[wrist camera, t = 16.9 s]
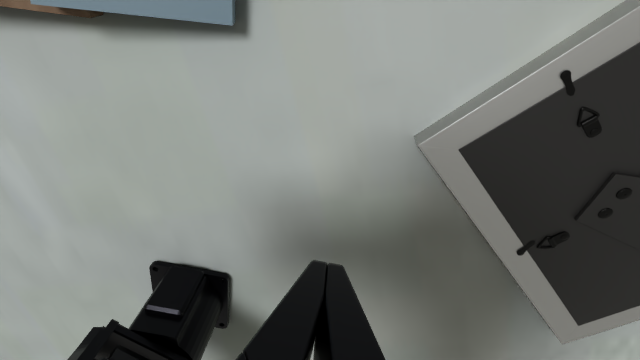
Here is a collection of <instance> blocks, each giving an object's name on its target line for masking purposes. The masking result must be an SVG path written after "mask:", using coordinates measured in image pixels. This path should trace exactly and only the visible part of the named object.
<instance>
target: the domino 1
mask: <svg viewBox="0 0 640 360" xmlns="http://www.w3.org/2000/svg"><path fill="white" fill-rule="evenodd" d="M0 6H3V7H10V8H18V9H25V10H33V11H41V12H48V13H56V14H63V15H71V16H78V17H86V18H92V17H96V16H101V15H103V12H101V11H91V10H82V9H73V8H63V7H54V6H44V5H35V4H31V2H30V0H0Z"/></svg>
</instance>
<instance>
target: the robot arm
mask: <svg viewBox="0 0 640 360" xmlns="http://www.w3.org/2000/svg"><path fill="white" fill-rule="evenodd" d="M149 269H150V275H151V282H152V289H153V293H152V294H151V296H150V297H149V299H148V300H147V302H146V303H145V305H144V307H143V308H142V309H141V311H140V312H139V314H138V315H137V317H136V318H135V320H134V321H133V323H132V324H131V326H130V327H129V329H128V328H126V327H124V326H122V325H120V324H119V322H117V321H115V320H113V319H112V320H111V321H110V322H109V324H108V325H107V326H106V327H104V326H103V327H93V328H92V330H91V331H90V332H89V334H88V335H87V336H86V337H85V339H84V340H83V341H82V343H81V344H80V345H79V346H78V348H77V349H76V350H75V351H74V352H73V354H72V355H71V356H70V357H69V358H68V360H201V358H202V355H203V353H204V351H205V348H206V346H207V344H208V341H209V339H210V337H211V334H212V332H213V329H214V327H217V328H227V326H228V323H229V280H230V279H229V276H228V275H227V274H224V273H219V272H214V271H208V270H203V269H197V268H192V267H186V266H180V265H175V264H169V263H164V262H158V261H154V262H153V263H152V264H151V265H150V268H149ZM222 279H223V280H222ZM314 341H315V343H314ZM313 346H314V360H385V358H384V355H383V353H382V351H381V349H380V347H379V344H378V342H377V340H376V338H375V336H374V333H373V331H372V329H371V327H370V324H369V322H368V320H367V318H366V316H365V313H364V311H363V309H362V307H361V304H360V302H359V300H358V298H357V296H356V293H355V291H354V289H353V287H352V285H351V282H350V280H349V278H348V276H347V273H346V271H345V269H344V267H343V266H342V265H339V264H333V263H329V264H328V265H327V263H326V262H322V261H316V260H313V261H311V262H310V264H309V265H308V266H307V268H306V269H305V270H304V272H303V273H302V274H301V276H300V277H299V278H298V279H297V281H296V282H295V283H294V285H293V286H292V287H291V289H290V290H289V291H288V293H287V294H286V295H285V296H284V298H283V299H282V300H281V302H280V303H279V304H278V306H277V307H276V308H275V310H274V311H273V312H272V313H271V315H270V316H269V317H268V319H267V320H266V321H265V323H264V324H263V325H262V327H261V328H260V329H259V330H258V332H257V333H256V334H255V336H254V337H253V338H252V340H251V341H250V342H249V344H248V345H247V346H246V347H245V349H244V350H243V353H241V354H240V355H239V356H238V358H237V359H236V360H310V358H311V354H312V350H313Z"/></svg>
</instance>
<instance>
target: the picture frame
mask: <svg viewBox="0 0 640 360" xmlns="http://www.w3.org/2000/svg"><path fill="white" fill-rule="evenodd" d="M414 137H415V140H416V143H417V146H418V147H419V148H420V150H421V151H422V152H423V154H424V155H425V157H426V158H427V159H428V161H429V162H430V163H431V165H432V166H433V168H434V169H435V170H436V172H437V173H438V174H439V176H440V177H441V179H442V180H443V181H444V183H445V184H446V185H447V187H448V188H449V190H450V191H451V192H452V194H453V195H454V196H455V198H456V199H457V201H458V202H459V203H460V205H461V206H462V207H463V209H464V210H465V212H466V213H467V214H468V216H469V217H470V218H471V220H472V221H473V223H474V224H475V225H476V227H477V228H478V229H479V231H480V232H481V234H482V235H483V236H484V238H485V239H486V240H487V242H488V243H489V244H490V246H491V247H492V249H493V250H494V251H495V253H496V254H497V255H498V257H499V258H500V260H501V261H502V262H503V264H504V265H505V266H506V268H507V269H508V271H509V272H510V273H511V275H512V276H513V277H514V279H515V280H516V282H517V283H518V284H519V286H520V287H521V288H522V290H523V291H524V293H525V294H526V295H527V297H528V298H529V299H530V301H531V302H532V304H533V305H534V306H535V308H536V309H537V310H538V312H539V313H540V315H541V316H542V317H543V319H544V320H545V321H546V323H547V324H548V326H549V327H550V328H551V330H552V331H553V332H554V334H555V335H556V337H557V338H558V339H559V341H560V342H561V343H562V344H565V343H569V342H572V341H575V340H578V339H581V338H584V337H587V336H591V335H594V334H597V333H600V332H603V331H606V330H609V329H613V328H616V327H619V326H622V325H625V324H628V323H631V322H635V321H638V320H640V0H626V1H624V2H622V3H621V4H619V5H618V6H616V7H615V8H613V9H612V10H610V11H608V12H607V13H605V14H604V15H602V16H601V17H599V18H597V19H596V20H594V21H593V22H591V23H590V24H588V25H587V26H585V27H583V28H582V29H580V30H579V31H577V32H576V33H574V34H573V35H571V36H569V37H568V38H566V39H565V40H563V41H562V42H560V43H558V44H557V45H555V46H554V47H552V48H551V49H549V50H548V51H546V52H544V53H543V54H541V55H540V56H538V57H537V58H535V59H534V60H532V61H530V62H529V63H527V64H526V65H524V66H523V67H521V68H519V69H518V70H516V71H515V72H513V73H512V74H510V75H509V76H507V77H505V78H504V79H502V80H501V81H499V82H498V83H496V84H495V85H493V86H491V87H490V88H488V89H487V90H485V91H484V92H482V93H480V94H479V95H477V96H476V97H474V98H473V99H471V100H470V101H468V102H466V103H465V104H463V105H462V106H460V107H459V108H457V109H456V110H454V111H452V112H451V113H449V114H448V115H446V116H445V117H443V118H441V119H440V120H438V121H437V122H435V123H434V124H432V125H431V126H429V127H427V128H426V129H424V130H423V131H421V132H420V133H418V134H417V135H415V136H414Z"/></svg>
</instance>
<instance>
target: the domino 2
mask: <svg viewBox="0 0 640 360" xmlns="http://www.w3.org/2000/svg"><path fill="white" fill-rule="evenodd" d="M30 2H31V4H35V5H44V6H54V7H63V8H73V9H82V10H91V11H101V12H110V13H119V14H129V15H138V16H148V17H157V18H166V19H176V20H185V21H194V22H204V23H213V24H222V25H232V26H233V24H234V23H235V0H30Z"/></svg>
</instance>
